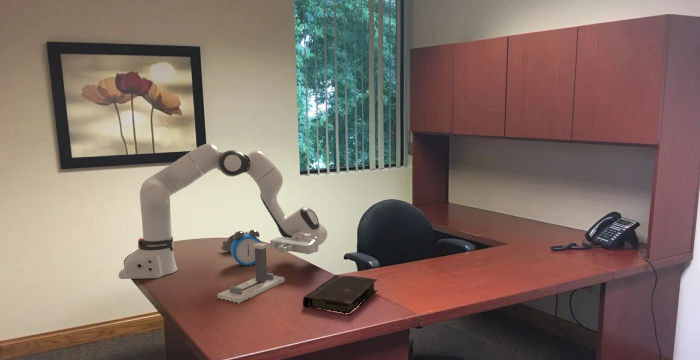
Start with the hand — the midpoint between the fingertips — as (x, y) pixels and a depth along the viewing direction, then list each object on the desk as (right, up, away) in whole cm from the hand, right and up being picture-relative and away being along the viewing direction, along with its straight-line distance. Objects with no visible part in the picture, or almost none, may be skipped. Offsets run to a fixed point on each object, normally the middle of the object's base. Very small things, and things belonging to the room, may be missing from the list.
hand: (281, 250), depth 198 cm
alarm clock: (-17, -9, +17) cm, 26 cm away
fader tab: (-6, -10, -9) cm, 15 cm away
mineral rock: (-26, -6, +38) cm, 46 cm away
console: (-9, -13, -13) cm, 21 cm away
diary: (+25, -15, -23) cm, 37 cm away
